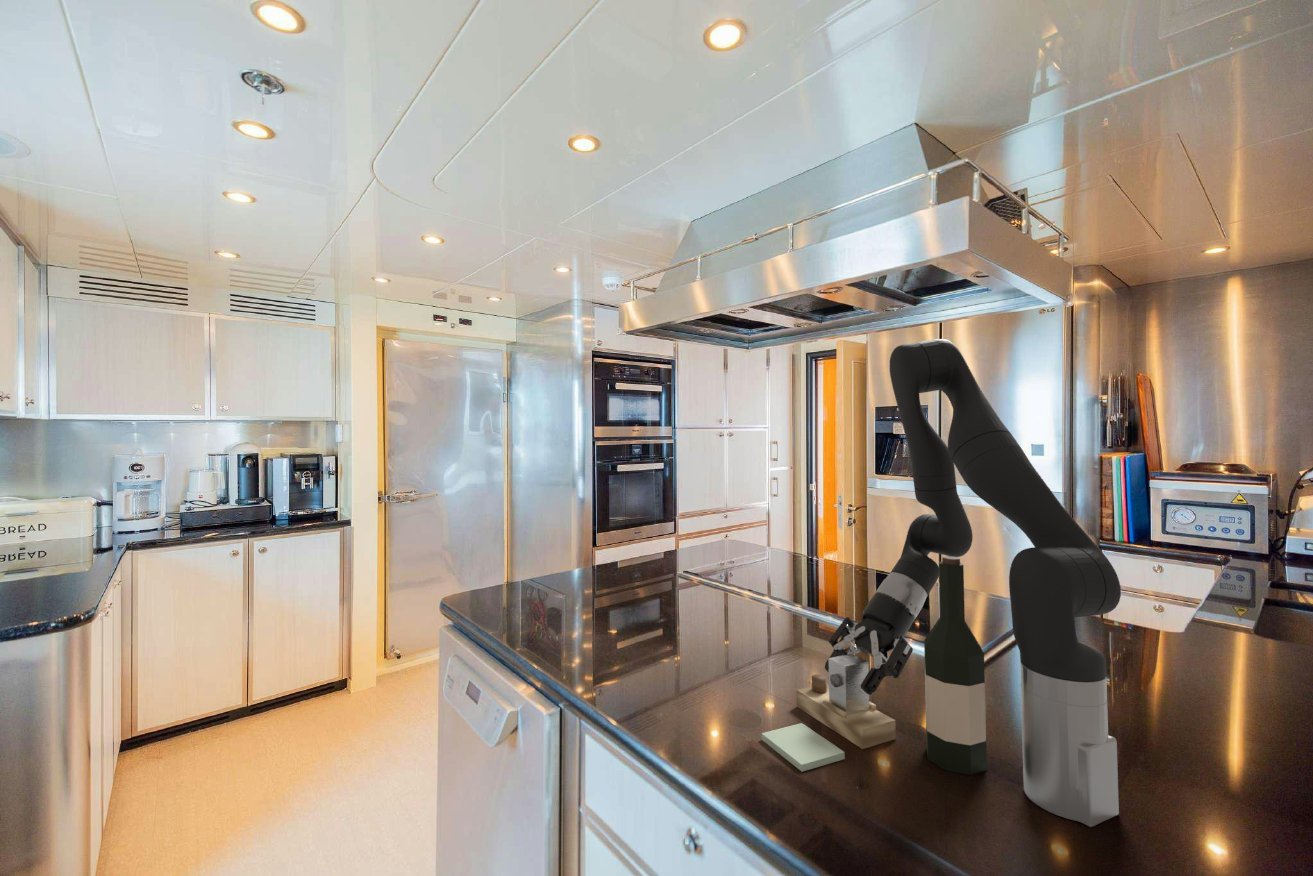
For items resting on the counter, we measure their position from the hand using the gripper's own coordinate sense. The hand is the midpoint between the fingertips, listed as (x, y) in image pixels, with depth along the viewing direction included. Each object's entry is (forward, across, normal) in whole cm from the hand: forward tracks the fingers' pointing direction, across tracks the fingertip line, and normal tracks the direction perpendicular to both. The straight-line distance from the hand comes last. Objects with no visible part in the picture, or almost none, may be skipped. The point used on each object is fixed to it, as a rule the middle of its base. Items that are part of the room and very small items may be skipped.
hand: (846, 681), depth 94 cm
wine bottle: (0, +15, +11) cm, 18 cm away
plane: (+5, -1, +6) cm, 8 cm away
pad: (+13, +3, -3) cm, 14 cm away
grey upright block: (+3, 0, +3) cm, 4 cm away
